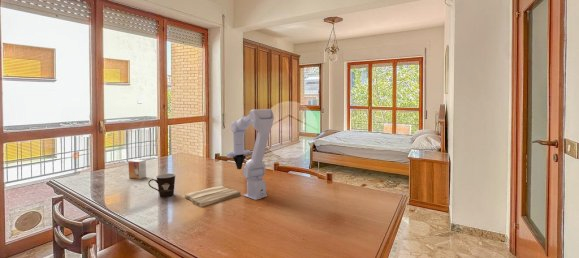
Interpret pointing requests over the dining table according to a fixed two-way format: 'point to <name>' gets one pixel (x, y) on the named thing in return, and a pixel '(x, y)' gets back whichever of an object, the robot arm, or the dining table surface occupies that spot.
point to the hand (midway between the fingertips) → (239, 168)
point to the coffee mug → (165, 184)
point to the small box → (137, 169)
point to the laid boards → (216, 197)
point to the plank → (205, 192)
